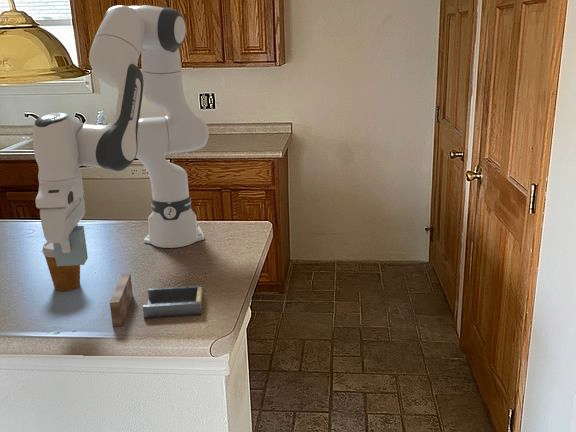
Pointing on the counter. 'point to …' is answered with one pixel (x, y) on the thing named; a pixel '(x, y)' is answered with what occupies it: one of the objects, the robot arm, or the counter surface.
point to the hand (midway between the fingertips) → (70, 247)
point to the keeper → (173, 302)
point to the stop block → (78, 249)
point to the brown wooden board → (121, 300)
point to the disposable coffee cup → (61, 271)
